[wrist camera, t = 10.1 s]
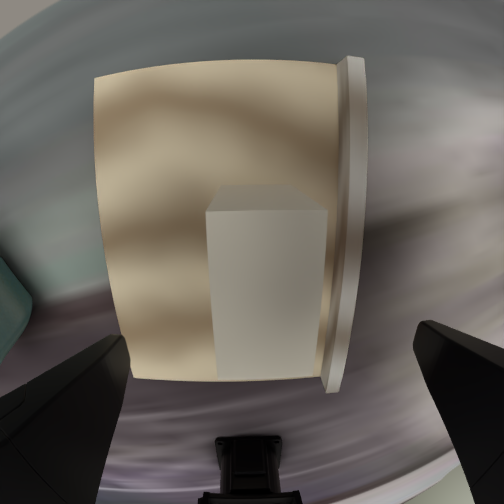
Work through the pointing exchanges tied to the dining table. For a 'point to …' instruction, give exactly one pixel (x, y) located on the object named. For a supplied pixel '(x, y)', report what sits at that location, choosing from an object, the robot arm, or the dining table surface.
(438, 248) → the dining table surface
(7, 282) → the flower pot
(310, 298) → the carton
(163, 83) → the shelf board
